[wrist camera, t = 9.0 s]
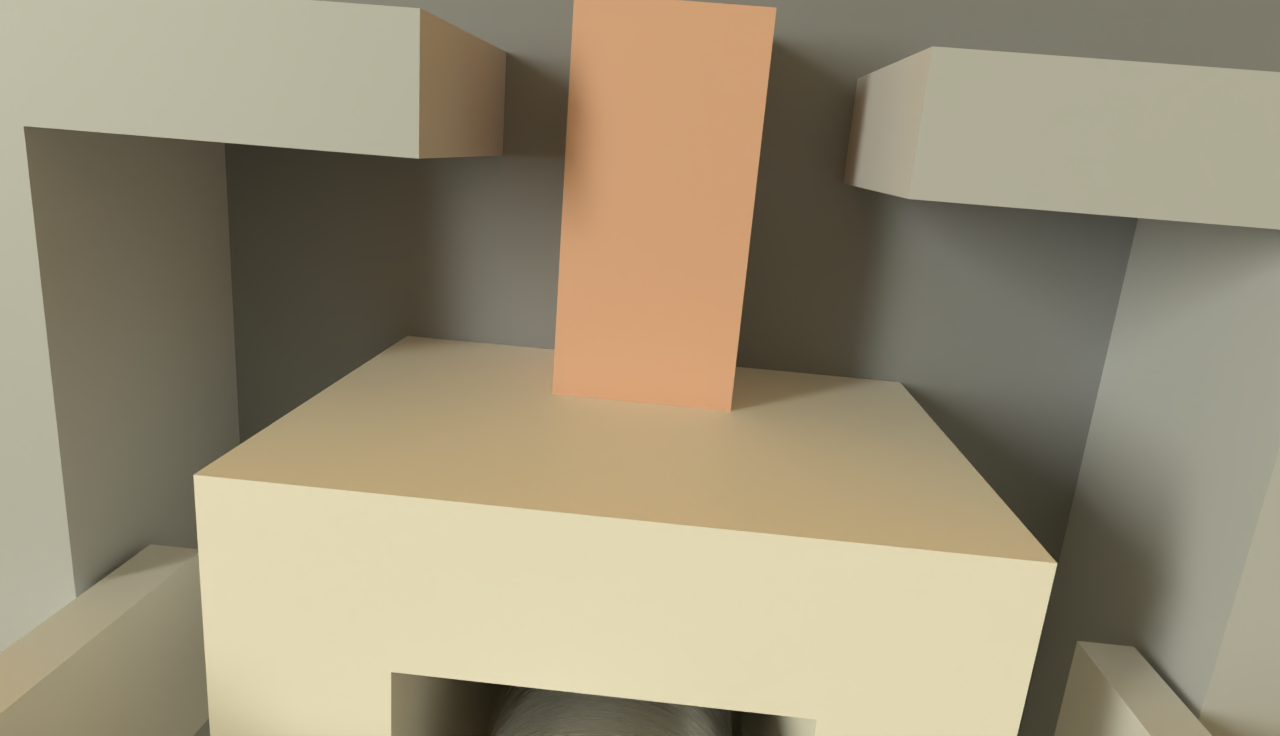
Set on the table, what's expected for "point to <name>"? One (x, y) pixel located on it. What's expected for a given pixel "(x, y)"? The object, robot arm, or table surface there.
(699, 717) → the post
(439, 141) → the grey walled tray
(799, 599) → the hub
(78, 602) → the robot arm
